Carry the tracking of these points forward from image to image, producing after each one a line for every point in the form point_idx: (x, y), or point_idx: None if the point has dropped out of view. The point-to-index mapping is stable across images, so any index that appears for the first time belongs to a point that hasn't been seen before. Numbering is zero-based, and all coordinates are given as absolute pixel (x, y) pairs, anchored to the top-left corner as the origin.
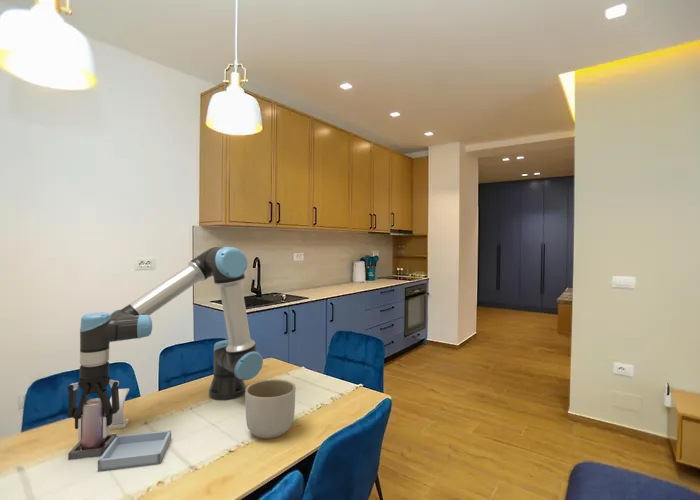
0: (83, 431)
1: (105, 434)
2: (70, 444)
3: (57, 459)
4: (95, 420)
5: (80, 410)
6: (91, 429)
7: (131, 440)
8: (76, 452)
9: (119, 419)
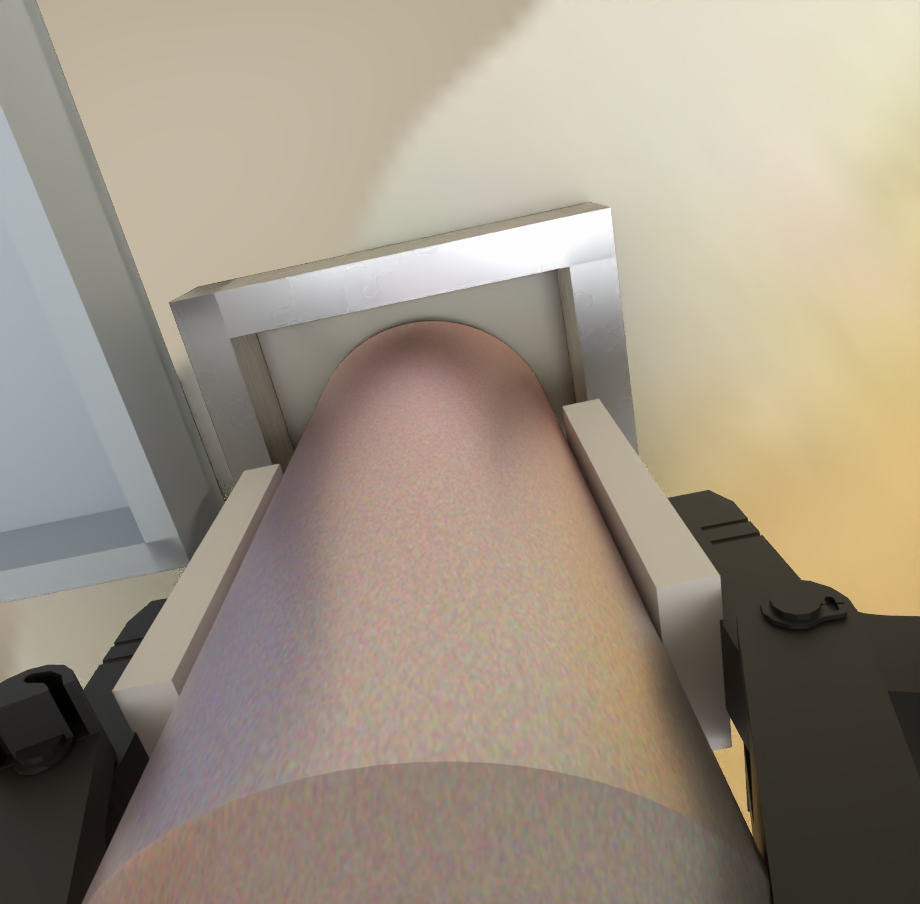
0: (518, 426)
1: (233, 495)
2: (758, 529)
3: (729, 223)
4: (264, 553)
5: (783, 780)
6: (358, 436)
7: (28, 540)
8: (510, 230)
9: None
